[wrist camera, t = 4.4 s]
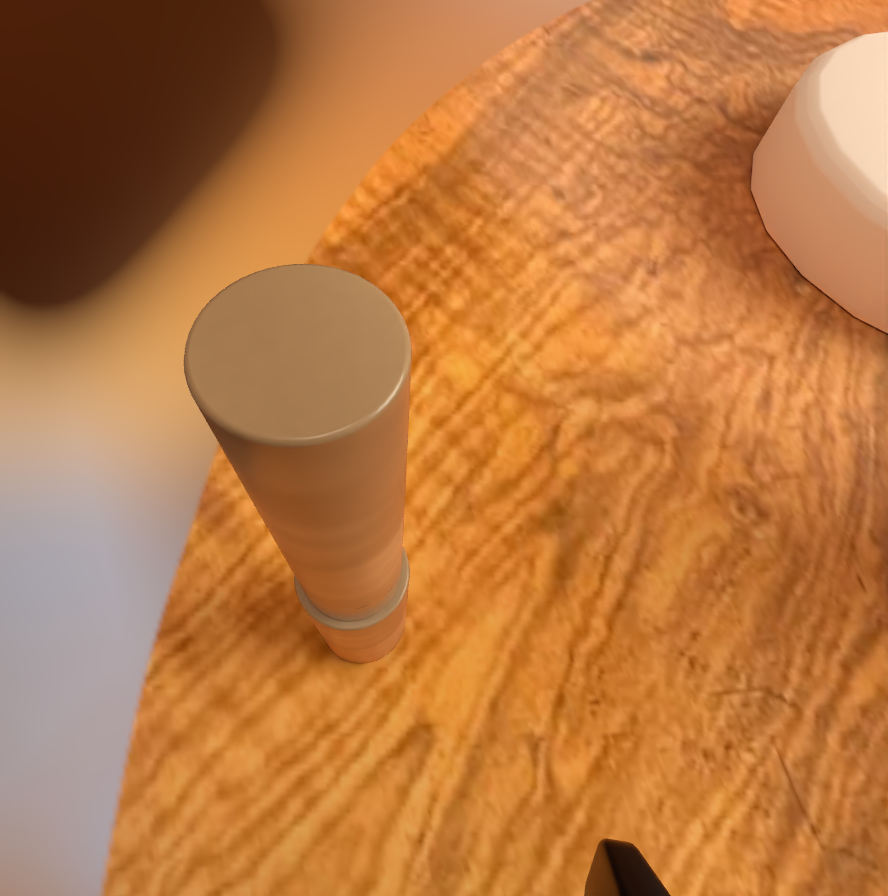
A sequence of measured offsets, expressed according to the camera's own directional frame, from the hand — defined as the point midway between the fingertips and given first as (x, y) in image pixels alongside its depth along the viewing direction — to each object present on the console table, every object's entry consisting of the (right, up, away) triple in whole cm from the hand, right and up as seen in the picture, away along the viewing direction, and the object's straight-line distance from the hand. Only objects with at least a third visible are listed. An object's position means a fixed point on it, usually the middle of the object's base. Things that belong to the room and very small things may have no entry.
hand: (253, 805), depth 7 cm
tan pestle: (0, -1, +12) cm, 12 cm away
